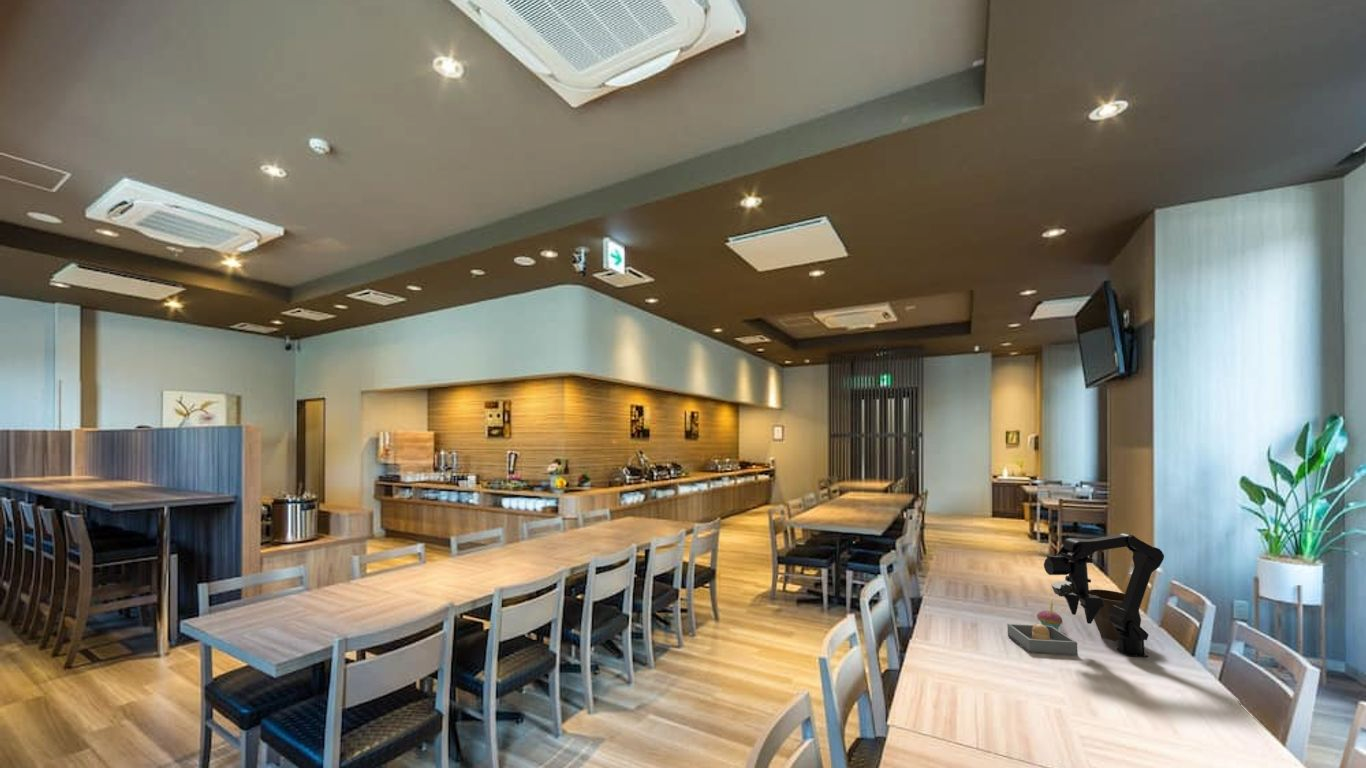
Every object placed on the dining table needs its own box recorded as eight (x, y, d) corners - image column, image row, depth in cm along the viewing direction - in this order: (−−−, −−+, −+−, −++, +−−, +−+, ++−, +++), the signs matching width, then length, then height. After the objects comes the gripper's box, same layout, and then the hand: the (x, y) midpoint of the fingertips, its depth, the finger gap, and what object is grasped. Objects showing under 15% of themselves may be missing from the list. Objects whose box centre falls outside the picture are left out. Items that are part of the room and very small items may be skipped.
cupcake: (1068, 634, 210) (1066, 602, 211) (1046, 633, 211) (1045, 602, 211) (1053, 626, 219) (1052, 596, 220) (1032, 625, 219) (1031, 595, 220)
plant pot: (1139, 648, 197) (1136, 603, 198) (1088, 638, 206) (1086, 595, 207) (1136, 636, 209) (1134, 594, 210) (1088, 627, 218) (1086, 587, 219)
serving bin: (1052, 638, 206) (1051, 626, 207) (1077, 655, 190) (1077, 642, 191) (1007, 635, 208) (1007, 623, 208) (1029, 652, 192) (1029, 639, 193)
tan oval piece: (1044, 640, 202) (1044, 622, 202) (1053, 646, 196) (1052, 627, 197) (1029, 639, 202) (1028, 621, 203) (1037, 645, 197) (1036, 626, 197)
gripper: (1040, 567, 206) (1043, 609, 205) (1069, 581, 188) (1072, 627, 187) (1072, 568, 205) (1075, 610, 204) (1103, 582, 187) (1107, 628, 185)
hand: (1081, 618), depth 195 cm, fingers open, 9 cm apart
